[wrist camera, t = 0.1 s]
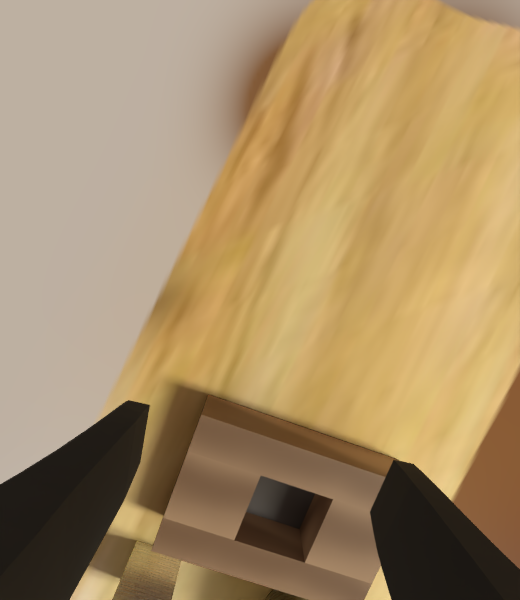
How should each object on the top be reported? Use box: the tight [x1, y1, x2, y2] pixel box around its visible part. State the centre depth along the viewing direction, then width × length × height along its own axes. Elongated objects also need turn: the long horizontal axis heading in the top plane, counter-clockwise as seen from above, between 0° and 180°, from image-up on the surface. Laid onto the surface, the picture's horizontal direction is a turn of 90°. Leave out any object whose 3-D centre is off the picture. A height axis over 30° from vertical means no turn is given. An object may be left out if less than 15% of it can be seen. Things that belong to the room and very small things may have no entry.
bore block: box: [151, 395, 399, 600], centre depth 20 cm, size 9×13×2 cm
